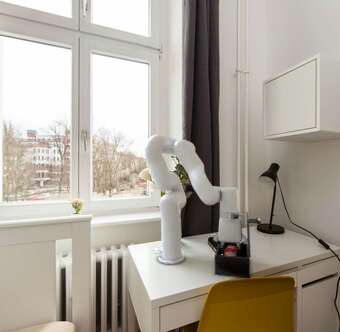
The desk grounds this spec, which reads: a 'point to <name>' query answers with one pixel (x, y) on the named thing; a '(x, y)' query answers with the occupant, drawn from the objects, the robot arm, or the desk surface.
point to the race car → (231, 251)
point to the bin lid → (249, 231)
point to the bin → (233, 262)
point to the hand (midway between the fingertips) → (230, 256)
